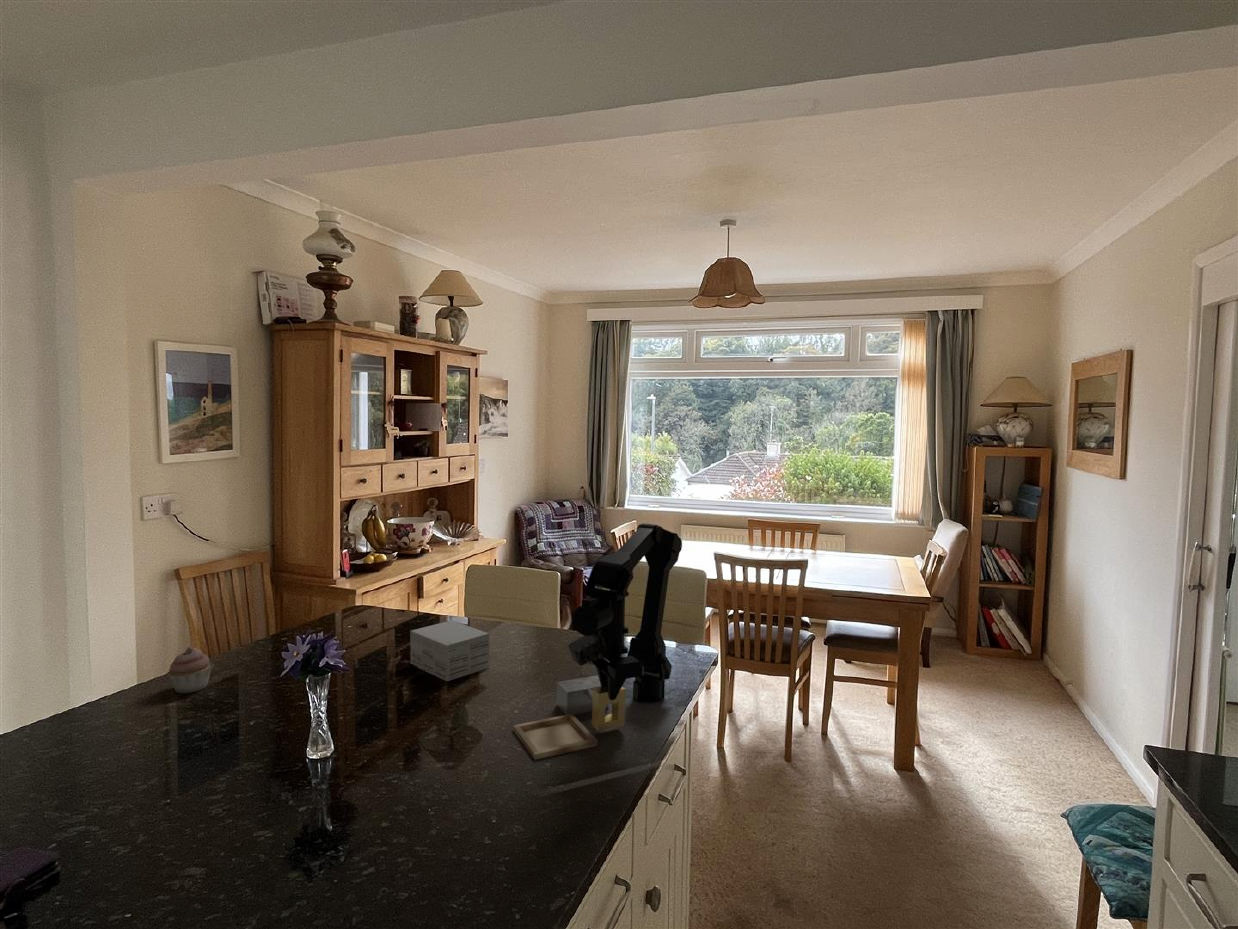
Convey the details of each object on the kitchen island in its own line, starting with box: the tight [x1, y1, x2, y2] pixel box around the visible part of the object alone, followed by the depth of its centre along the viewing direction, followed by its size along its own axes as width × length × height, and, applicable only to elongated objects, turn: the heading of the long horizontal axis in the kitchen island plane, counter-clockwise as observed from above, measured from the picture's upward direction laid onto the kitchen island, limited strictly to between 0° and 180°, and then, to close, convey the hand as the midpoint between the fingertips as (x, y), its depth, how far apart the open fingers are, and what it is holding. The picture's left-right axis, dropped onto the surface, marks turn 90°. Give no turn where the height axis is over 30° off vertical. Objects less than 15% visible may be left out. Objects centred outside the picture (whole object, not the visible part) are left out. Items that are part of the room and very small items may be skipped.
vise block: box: [556, 674, 610, 716], centre depth 145 cm, size 11×14×6 cm
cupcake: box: [166, 646, 215, 694], centre depth 155 cm, size 9×9×10 cm
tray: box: [512, 714, 598, 761], centre depth 134 cm, size 13×13×2 cm
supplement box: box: [410, 620, 490, 682], centre depth 172 cm, size 17×13×9 cm
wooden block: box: [591, 686, 626, 732], centre depth 136 cm, size 6×3×8 cm, turn 116°
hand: (609, 696), depth 136 cm, fingers closed on wooden block, 3 cm apart
